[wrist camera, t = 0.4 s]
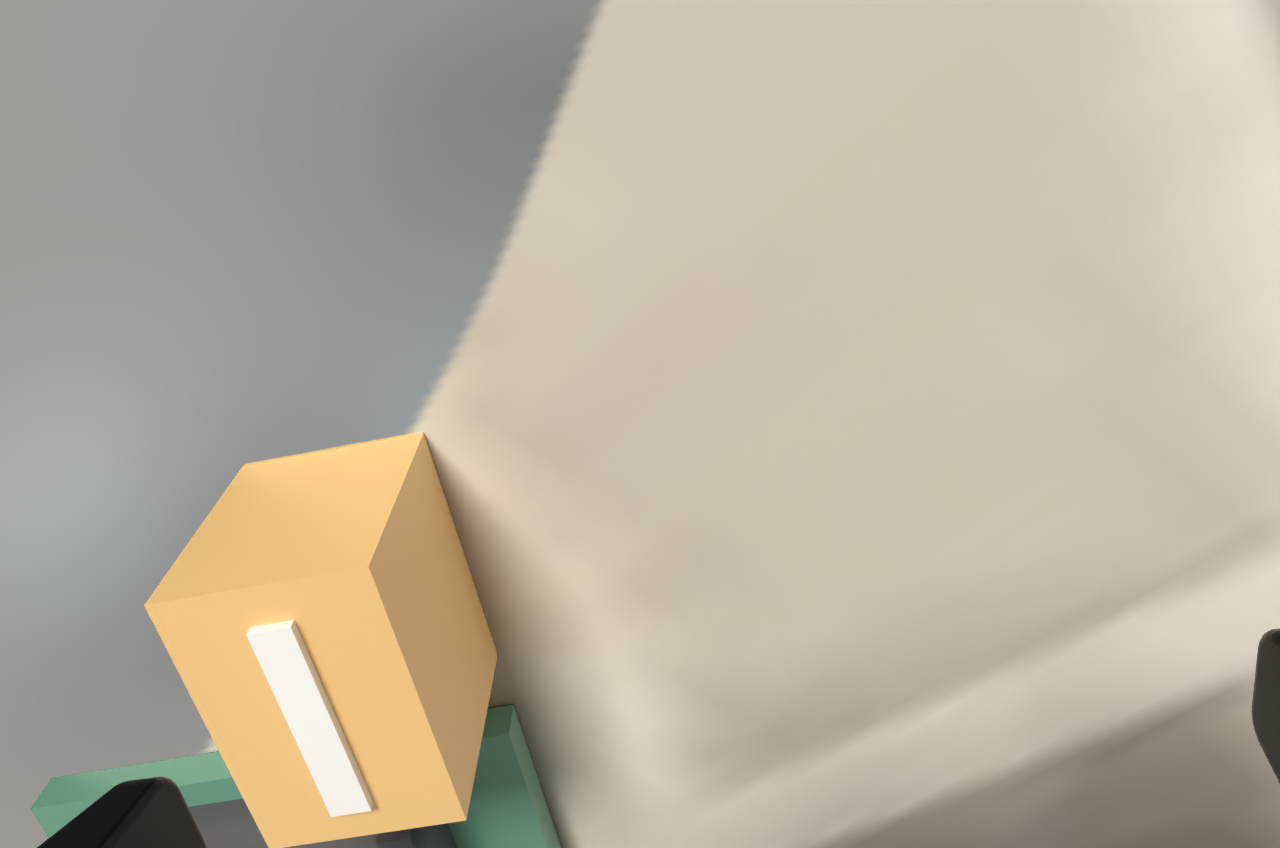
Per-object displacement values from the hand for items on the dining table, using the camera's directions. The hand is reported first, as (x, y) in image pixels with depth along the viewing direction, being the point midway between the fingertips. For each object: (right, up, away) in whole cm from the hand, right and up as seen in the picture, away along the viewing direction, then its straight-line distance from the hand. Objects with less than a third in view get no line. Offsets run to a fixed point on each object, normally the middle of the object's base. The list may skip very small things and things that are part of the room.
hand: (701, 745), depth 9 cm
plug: (-6, 0, +15) cm, 16 cm away
